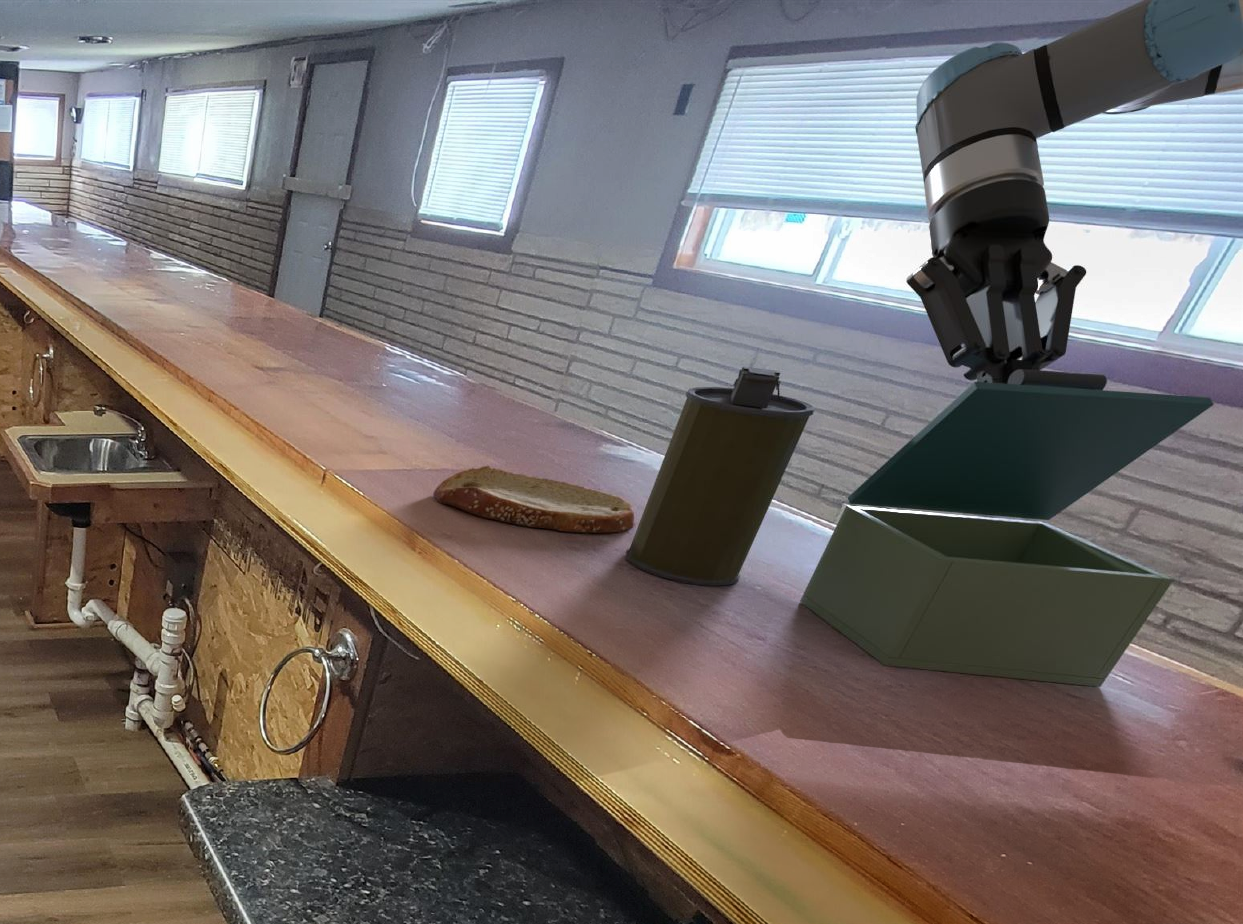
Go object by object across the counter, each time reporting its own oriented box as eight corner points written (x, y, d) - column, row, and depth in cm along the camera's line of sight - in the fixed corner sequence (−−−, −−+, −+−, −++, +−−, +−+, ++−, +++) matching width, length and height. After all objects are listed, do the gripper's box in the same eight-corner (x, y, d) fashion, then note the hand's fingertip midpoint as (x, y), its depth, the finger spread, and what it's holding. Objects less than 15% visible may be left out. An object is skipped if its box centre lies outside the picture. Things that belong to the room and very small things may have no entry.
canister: (740, 595, 96) (834, 388, 86) (622, 570, 100) (697, 371, 90) (736, 561, 104) (822, 369, 94) (627, 540, 108) (697, 354, 98)
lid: (1214, 404, 75) (1192, 363, 77) (977, 388, 77) (961, 348, 79) (1048, 520, 88) (1033, 482, 90) (849, 504, 90) (838, 467, 92)
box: (1100, 687, 81) (1175, 579, 76) (884, 665, 83) (943, 559, 78) (986, 619, 93) (1044, 521, 88) (799, 601, 95) (845, 505, 90)
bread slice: (649, 528, 112) (661, 497, 110) (534, 545, 106) (545, 512, 104) (525, 482, 126) (534, 453, 124) (417, 494, 120) (425, 464, 118)
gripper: (1026, 240, 91) (1060, 464, 85) (875, 232, 93) (897, 451, 87) (1105, 177, 84) (1148, 417, 78) (940, 170, 86) (969, 405, 80)
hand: (1016, 435), depth 82 cm, fingers closed
